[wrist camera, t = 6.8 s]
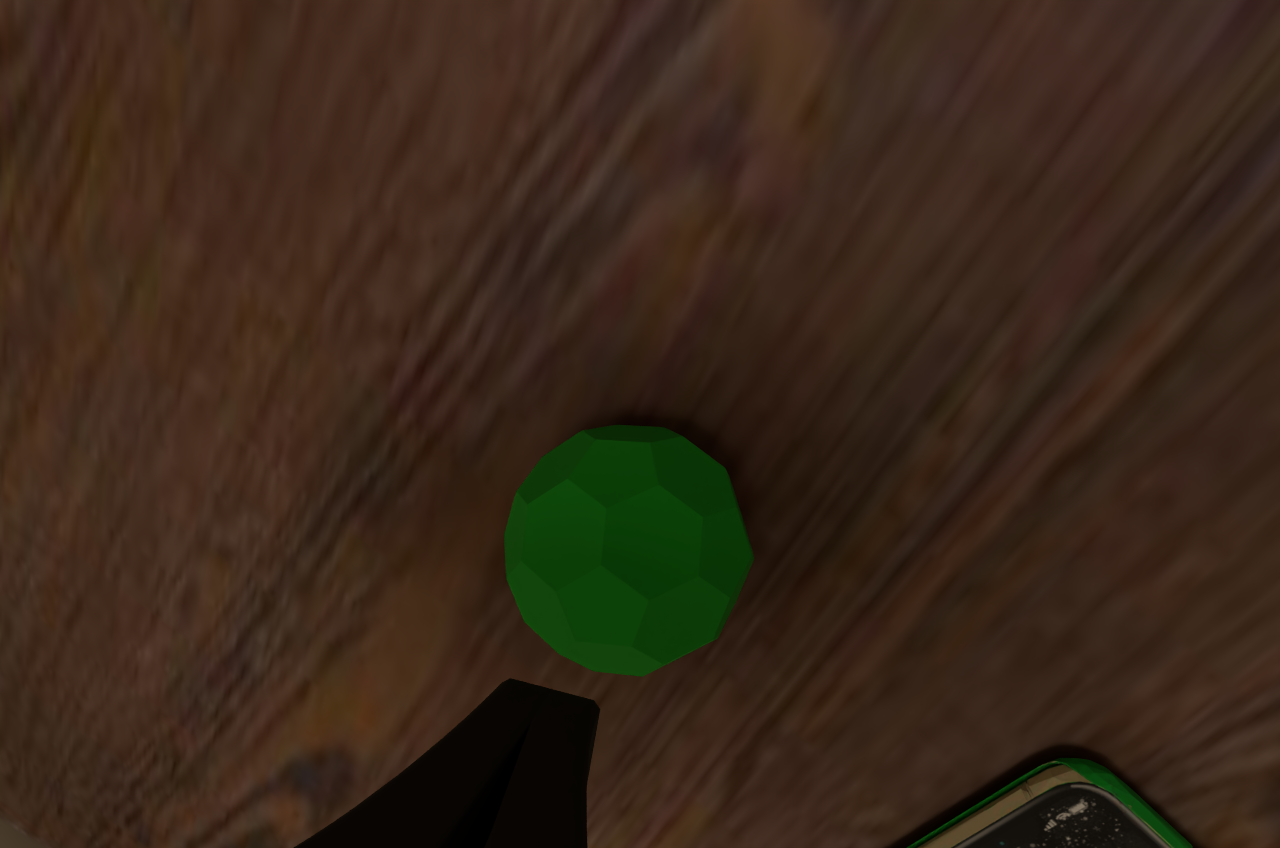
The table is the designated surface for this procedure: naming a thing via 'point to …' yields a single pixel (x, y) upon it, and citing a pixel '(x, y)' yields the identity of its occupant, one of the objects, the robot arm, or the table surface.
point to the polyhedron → (626, 548)
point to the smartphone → (1059, 814)
